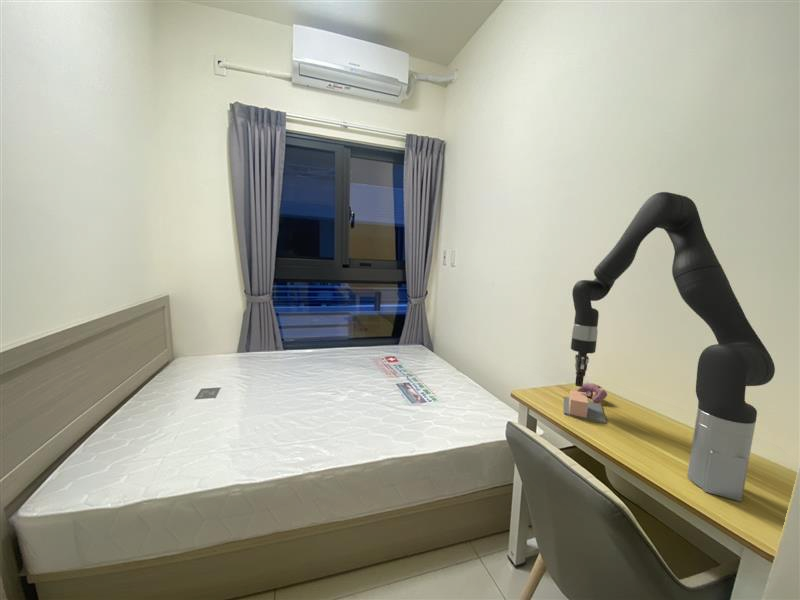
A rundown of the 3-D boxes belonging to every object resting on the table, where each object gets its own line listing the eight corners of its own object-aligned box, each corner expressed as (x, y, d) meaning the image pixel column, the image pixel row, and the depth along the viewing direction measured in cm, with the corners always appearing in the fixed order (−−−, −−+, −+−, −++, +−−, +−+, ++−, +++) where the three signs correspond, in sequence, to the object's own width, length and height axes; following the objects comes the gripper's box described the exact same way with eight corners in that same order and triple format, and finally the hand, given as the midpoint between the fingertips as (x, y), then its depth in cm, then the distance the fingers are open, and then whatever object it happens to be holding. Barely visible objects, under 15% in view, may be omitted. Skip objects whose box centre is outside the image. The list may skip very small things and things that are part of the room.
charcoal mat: (605, 423, 102) (606, 422, 102) (563, 414, 107) (564, 412, 107) (600, 405, 116) (600, 403, 116) (563, 398, 122) (563, 396, 122)
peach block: (584, 406, 113) (586, 417, 104) (568, 403, 115) (569, 414, 107) (586, 392, 113) (588, 403, 104) (570, 389, 115) (570, 399, 106)
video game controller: (602, 408, 118) (611, 391, 118) (593, 403, 117) (603, 386, 117) (582, 397, 127) (590, 382, 127) (573, 392, 126) (582, 377, 126)
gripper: (598, 342, 103) (592, 394, 105) (595, 335, 115) (589, 382, 117) (572, 339, 107) (567, 389, 109) (571, 333, 119) (566, 378, 120)
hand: (578, 385), depth 113 cm, fingers closed
